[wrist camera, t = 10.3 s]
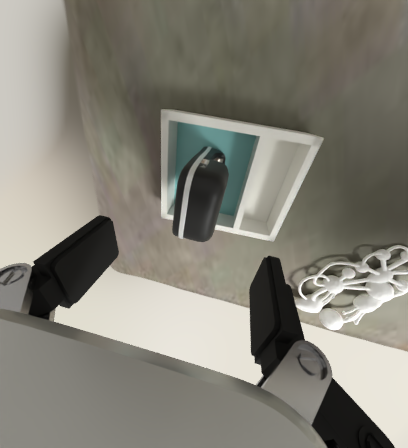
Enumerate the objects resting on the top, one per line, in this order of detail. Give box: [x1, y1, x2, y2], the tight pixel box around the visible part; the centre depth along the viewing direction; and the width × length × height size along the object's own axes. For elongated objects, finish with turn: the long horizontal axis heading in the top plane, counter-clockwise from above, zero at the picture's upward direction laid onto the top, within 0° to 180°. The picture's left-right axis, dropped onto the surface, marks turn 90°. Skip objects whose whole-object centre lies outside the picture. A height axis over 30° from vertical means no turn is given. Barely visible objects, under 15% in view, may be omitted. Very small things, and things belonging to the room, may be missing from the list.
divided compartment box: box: [161, 109, 324, 242], centre depth 22 cm, size 16×13×4 cm
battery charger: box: [172, 146, 229, 242], centre depth 18 cm, size 7×4×11 cm, turn 169°
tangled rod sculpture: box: [295, 245, 408, 330], centre depth 29 cm, size 19×14×4 cm
